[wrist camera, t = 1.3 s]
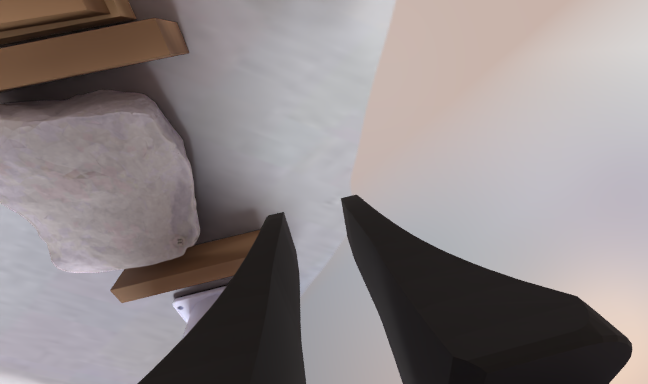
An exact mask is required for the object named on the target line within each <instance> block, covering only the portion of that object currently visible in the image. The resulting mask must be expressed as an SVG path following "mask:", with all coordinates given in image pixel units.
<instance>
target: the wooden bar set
mask: <svg viewBox="0 0 648 384" xmlns="http://www.w3.org/2000/svg"><path fill="white" fill-rule="evenodd" d="M187 53H189V51H188V49H187V46H186V44H185V41H184V39H183V36H182V34H181V31H180V29H179V26H178V24H177V22H172V21H167V20H163V19H158V18H151V19H146V20H141V21H136V22H131V23H126V24H121V25H116V26H111V27H106V28H101V29H96V30H91V31H86V32H81V33H76V34H71V35H66V36H61V37H56V38H50V39H45V40H40V41H35V42H30V43H25V44H20V45H15V46H10V47H5V48H0V92H2V91H7V90H12V89H17V88H22V87H27V86H32V85H36V84H41V83H46V82H51V81H56V80H61V79H66V78H70V77H75V76H80V75H85V74H90V73H95V72H100V71H104V70H109V69H114V68H119V67H124V66H129V65H134V64H138V63H143V62H148V61H153V60H158V59H163V58H168V57H172V56H177V55H182V54H187ZM259 232H260V230H257V231H253V232H249V233H245V234H240V235H236V236H232V237H228V238H224V239H220V240H215V241H211V242H207V243H203V244H199V245H195V246H192V247H188V248H187V249H186V252H185V253H184V255H182V256H180V257H177V258H174V259H172V260H167V261H163V262H160V263H157V264H154V265H149V266H141V267H135V268H128V269H124V271H123V272H122V274H121V275H120V277H119V278H118V280H117V281H116V283H115V284H114V286H113V287H112V288H111V290H110V291H111V292H112V293H113V294H114V295H115V296H116V297H117V298H118V299H119V301H120V302H121V303H124V302H128V301H132V300H137V299H141V298H145V297H149V296H153V295H157V294H161V293H165V292H169V291H173V290H177V289H181V288H185V287H189V286H193V285H197V284H201V283H205V282H209V281H213V280H217V279H221V278H226V277H230V276H234V275H235V273H236V272H237V270H238V269H239V267H240V265H241V264H242V262H243V261H244V259H245V257H246V256H247V254H248V252H249V250H250V249H251V247H252V245H253V243H254V241H255V240H256V238H257V236H258V234H259Z"/></svg>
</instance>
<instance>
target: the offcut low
mask: <svg viewBox="0 0 648 384" xmlns="http://www.w3.org/2000/svg"><path fill="white" fill-rule="evenodd" d="M104 1H105V3H106V5H107V7H108V9H109V11H110V13H111V14H108V15H101V16H95V17H89V18H83V19H77V20H70V21H64V22H58V23H52V24H46V25H39V26H33V27H27V28H21V29H15V30H8V31H2V32H0V45H2V44H8V43H13V42H18V41H23V40H29V39H34V38H39V37H44V36H50V35H55V34H60V33H65V32H71V31H76V30H81V29H86V28H92V27H97V26H102V25H107V24H113V23H118V22H123V21H128V20H134V19H136V17H135V14H134V12H133V10H132V8H131V6H130V3H129V1H128V0H104Z"/></svg>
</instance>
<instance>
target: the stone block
mask: <svg viewBox="0 0 648 384" xmlns="http://www.w3.org/2000/svg"><path fill="white" fill-rule="evenodd" d="M0 203H1V204H3V205H4V206H6V207H7V208H9V209H10V210H12V211H14V212H16V213H18V214H19V215H21V216H22V217H24V218H25V219H26V220H27V221H28V222H30V223H31V224H32V225H33V226H34V227H35V228H36V230H37V232H38V234H39V236H40V237H41V239H42V240H43V241H45V242H46V243H47V245H48V249H49V252H50V257H51V261H52V263H53V264H54V265H55V266H56V267H57V268H58V269H60V270H63V271H66V272H73V273H84V272H90V273H99V272H108V271H112V270H121V269H128V268H135V267H141V266H149V265H154V264H157V263H160V262H163V261H167V260H172V259H174V258H177V257H180V256H182V255H184V253H185V252H186V249H187V248H188V247H192V246H193V245H194V244H195V243H196V242H197V240H198V237H199V235H200V225H199V219H198V215H197V210H196V204H197V203H196V199H195V195H194V180H193V176H192V169H191V164H190V162H189V160H188V158H187V156H186V150H185V148H184V143H183V139H182V138H181V137H180V136H179V134H178V133H177V132H176V131H175V129H174V128H173V127H172V125H171V124H170V122H169V121H168V119H167V118H166V117H165V116H164V115H163V113H162V112H161V111H160V109H159V108H158V106H157V104H156V103H155V102H154V101H153V100H152V99H150V98H149V97H148V96H147V95H145V94H141V93H136V92H130V93H128V92H120V91H114V90H101V89H100V90H98V91H95V92H91V93H88V94H83V95H75V96H74V97H72V98H70V99H67V100H59V101H56V100H48V101H46V100H41V101H23V102H10V103H8V104H0Z"/></svg>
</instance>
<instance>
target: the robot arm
mask: <svg viewBox="0 0 648 384" xmlns="http://www.w3.org/2000/svg"><path fill="white" fill-rule="evenodd" d="M341 201H342V207H343V213H344V219H345V225H346V231H347V237H348V240H349V243H350V247H351V250H352V253H353V256H354V259H355V262H356V264H357V266H358V268H359V271H360V273H361V275H362V277H363V280H364V282H365V284H366V286H367V288H368V291H369V292H370V295H371V297H372V300H373V302H374V304H375V306H376V308H377V311H378V313H379V316H380V318H381V321H382V323H383V326H384V329H385V332H386V335H387V338H388V341H389V344H390V347H391V349H392V352H393V355H394V358H395V361H396V364H397V367H398V370H399V373H400V376H401V379H402V382H403V384H609V383H610V381H611V380H612V379H613V378H614V377H615V376H616V375H617V374H618V373H619V371H620V370H621V369H622V368H623V367H624V366H625V365H626V363H627V362H628V360H629V359H630V357H631V353H632V343H631V342H630V341H629V340H628V338H627V337H626V336H624V335H623V334H622V333H621V332H620V331H619V330H617V329H616V328H615V327H614V326H612V325H611V324H610V323H609V322H608V321H606V320H605V319H604V318H603V317H602V316H601V315H600V314H598V313H597V312H596V311H595V310H593V309H592V308H591V307H590V306H589V305H587V304H586V303H585V302H583V301H582V300H581V299H580V298H578V297H577V296H574V295H571V294H567V293H564V292H560V291H556V290H553V289H549V288H545V287H542V286H539V285H535V284H532V283H528V282H525V281H521V280H518V279H515V278H512V277H510V276H506V275H504V274H501V273H498V272H495V271H492V270H489V269H486V268H483V267H481V266H478V265H476V264H473V263H471V262H468V261H466V260H463V259H461V258H459V257H456V256H454V255H452V254H449V253H447V252H445V251H443V250H440V249H438V248H436V247H434V246H432V245H430V244H428V243H427V242H424V241H422V240H421V239H419V238H417V237H415V236H413V235H412V234H410V233H409V232H407V231H405V230H404V229H402V228H401V227H399V226H398V225H396V224H395V223H393V222H392V221H390V220H389V219H387V218H386V217H384V216H383V215H382V214H380V213H379V212H378V211H376V210H375V209H374V208H372V207H371V206H370V205H369V204H367V203H366V202H365V201H364V200H363V199H361V198H360V197H359V196H357V195H353V196H349V197H345V198H341ZM172 305H173V307H174V308H175V309H176V310H177V312H178V313H179V314H180V315H181V317H182V318H183V319H184V320H185V322H186V323H187V325H186V328H185V332H184V335H183V338H182V340H181V341H180V342H179V343H178V344H177V345H176V346H175V347H174V348H173V350H172V351H171V352H170V353H169V354H168V355H167V356H166V357H165V358H164V359H163V360H162V361H161V362H160V363H159V364H158V365H157V366H156V367H155V368H154V369H153V370H151V371H150V372H149V373H148V374H147V375H146V376H145V377H144V378H143V379H142V380H141V381H140V382H139V383H138V384H306V378H305V370H304V361H303V353H302V344H301V329H300V328H301V327H300V326H301V325H300V282H299V268H298V261H297V254H296V249H295V246H294V243H293V240H292V237H291V233H290V230H289V227H288V224H287V221H286V218H285V215H284V212H282V213H277V214H273V215H269V216H268V217H267V218H266V220H265V222H264V224H263V226H262V228H261V230H260V232H259V234H258V236H257V238H256V240H255V241H254V243H253V245H252V247H251V249H250V250H249V252H248V254H247V256H246V257H245V259H244V261H243V262H242V264H241V265H240V267H239V269H238V270H237V272H236V273H235V275H234V276H233V278H232V279H231V281H230V282H229V284H228V285H227V286H224V287H220V288H216V289H212V290H208V291H204V292H200V293H196V294H192V295H188V296H184V297H180V298H176V299H174V301H173V303H172Z"/></svg>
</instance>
